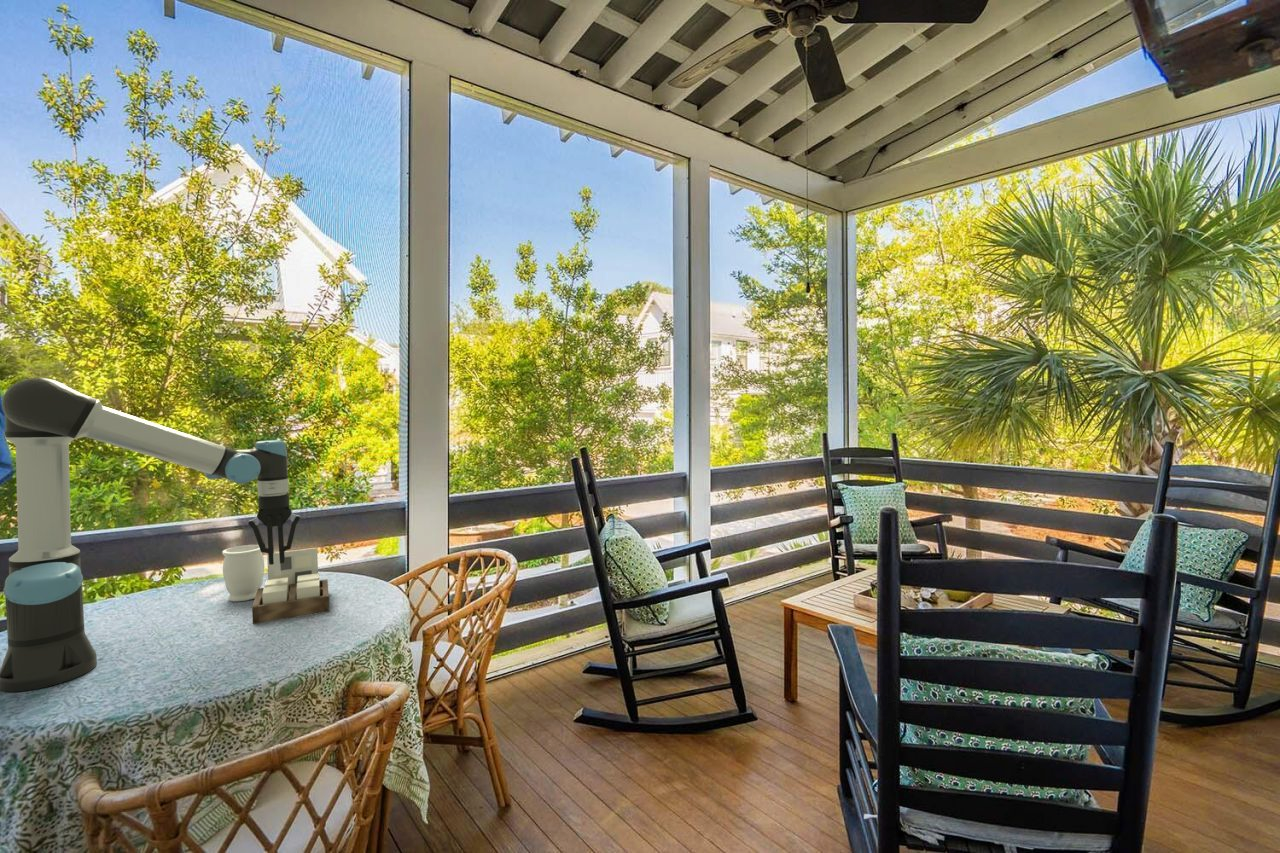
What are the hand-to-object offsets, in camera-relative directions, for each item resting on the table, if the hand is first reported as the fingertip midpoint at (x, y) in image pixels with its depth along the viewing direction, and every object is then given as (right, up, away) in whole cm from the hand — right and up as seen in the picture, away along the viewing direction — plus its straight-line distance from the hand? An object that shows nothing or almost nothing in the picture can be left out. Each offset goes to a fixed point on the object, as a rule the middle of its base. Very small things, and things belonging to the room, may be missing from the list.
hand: (277, 574), depth 168 cm
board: (+5, -9, -1) cm, 11 cm away
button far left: (0, -6, 0) cm, 6 cm away
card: (0, -9, +8) cm, 12 cm away
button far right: (+7, -6, +4) cm, 10 cm away
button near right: (+11, -6, -3) cm, 13 cm away
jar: (-15, -9, +8) cm, 19 cm away
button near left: (+4, -6, -7) cm, 10 cm away
